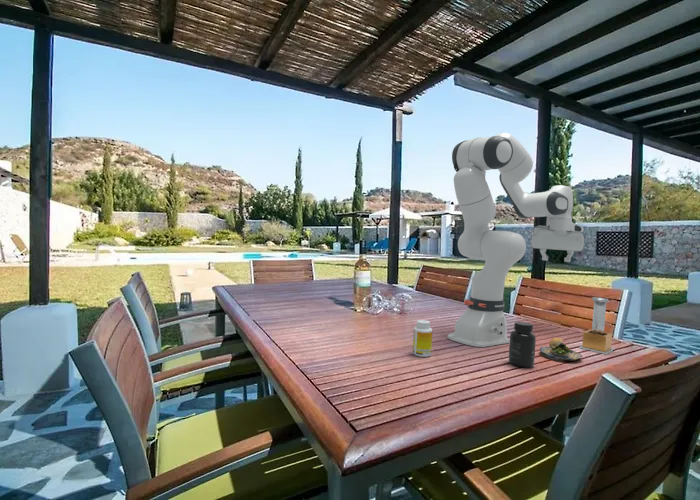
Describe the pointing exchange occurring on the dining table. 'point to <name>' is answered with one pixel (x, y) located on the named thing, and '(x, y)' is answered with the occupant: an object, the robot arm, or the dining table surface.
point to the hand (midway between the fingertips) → (556, 261)
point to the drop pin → (599, 315)
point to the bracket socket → (597, 342)
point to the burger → (558, 351)
